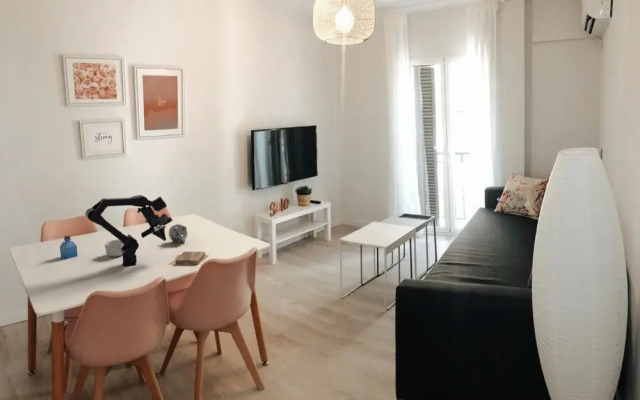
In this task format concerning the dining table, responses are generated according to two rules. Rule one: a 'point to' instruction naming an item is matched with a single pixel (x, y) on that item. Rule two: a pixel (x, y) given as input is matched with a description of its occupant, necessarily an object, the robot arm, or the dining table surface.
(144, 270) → the dining table surface
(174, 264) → the light tan wooden board
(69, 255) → the perfume bottle
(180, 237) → the piggy bank
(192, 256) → the brown wooden slab
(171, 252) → the dining table surface
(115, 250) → the teacup
